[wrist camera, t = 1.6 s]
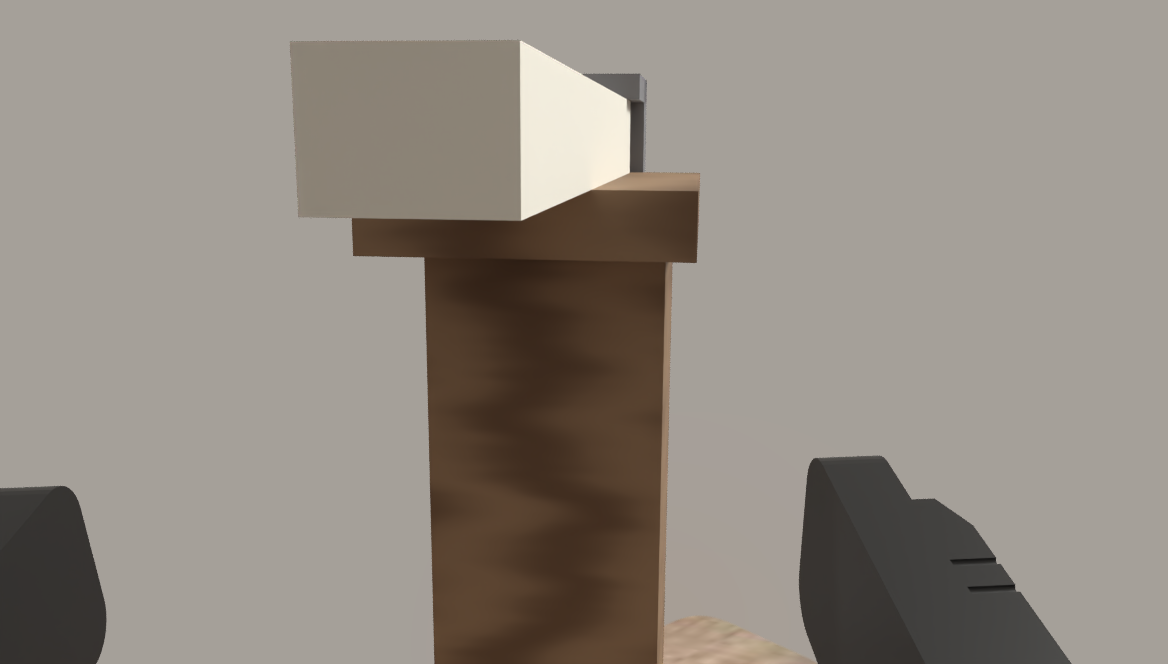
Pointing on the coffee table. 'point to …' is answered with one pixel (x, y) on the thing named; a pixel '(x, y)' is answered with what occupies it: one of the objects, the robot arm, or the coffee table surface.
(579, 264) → the wooden pedestal post
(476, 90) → the white bar
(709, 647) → the coffee table surface
